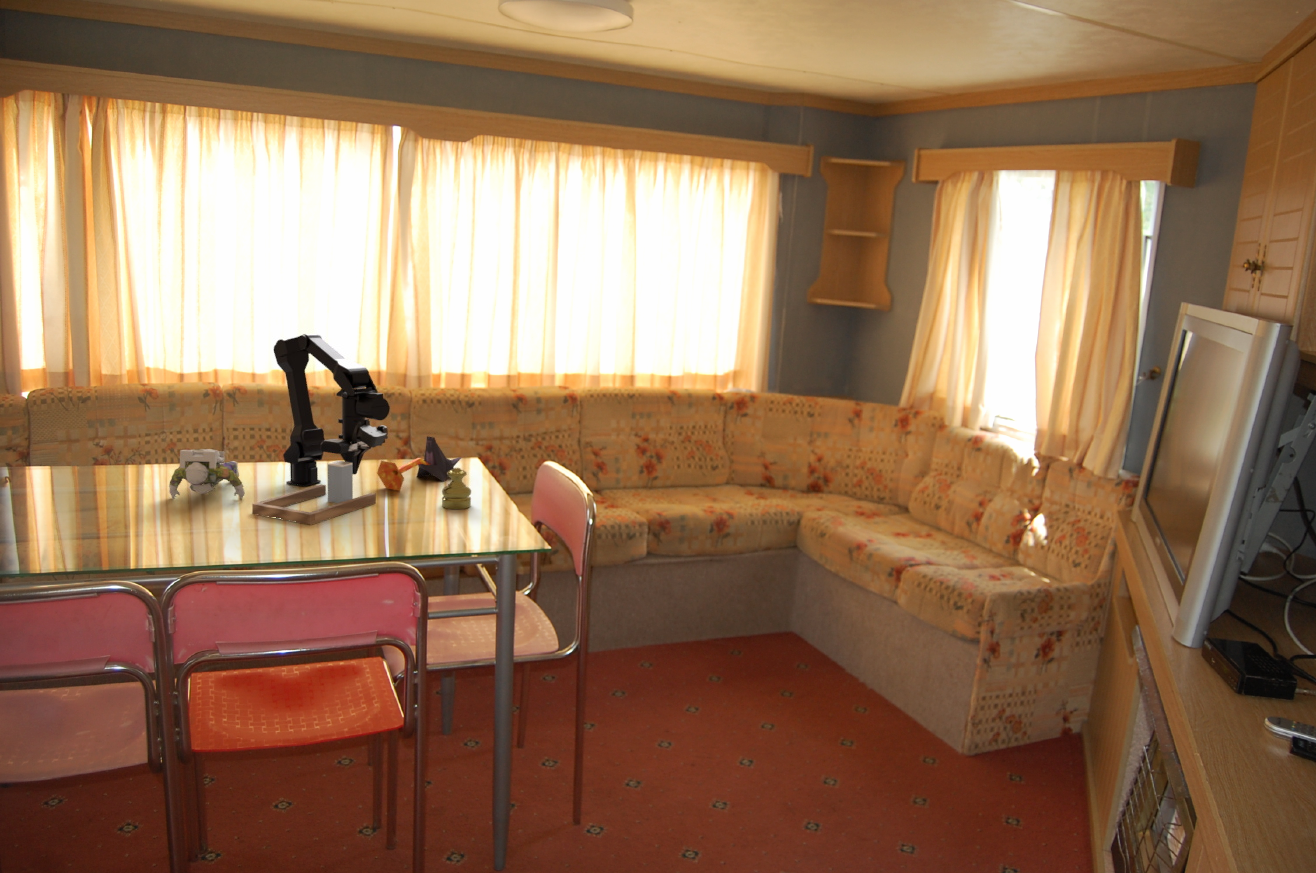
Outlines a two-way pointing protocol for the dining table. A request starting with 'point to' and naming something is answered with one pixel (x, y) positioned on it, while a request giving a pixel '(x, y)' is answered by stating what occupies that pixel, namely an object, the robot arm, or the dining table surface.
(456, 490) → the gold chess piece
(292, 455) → the robot arm
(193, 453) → the toy
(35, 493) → the dining table surface
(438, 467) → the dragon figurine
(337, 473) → the long block
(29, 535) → the dining table surface
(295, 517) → the rail pen
